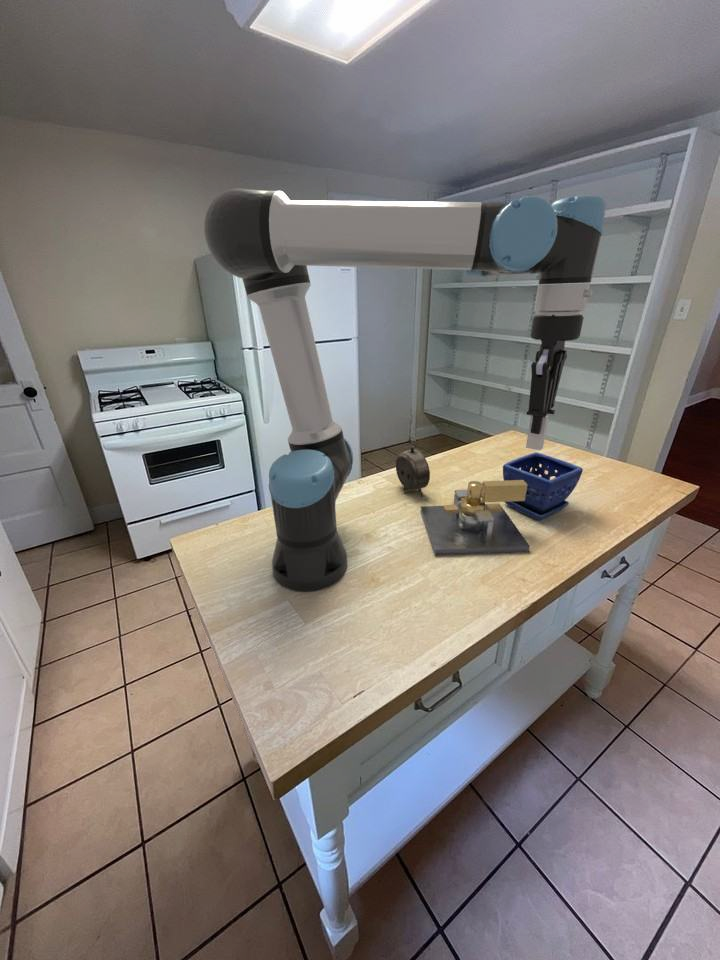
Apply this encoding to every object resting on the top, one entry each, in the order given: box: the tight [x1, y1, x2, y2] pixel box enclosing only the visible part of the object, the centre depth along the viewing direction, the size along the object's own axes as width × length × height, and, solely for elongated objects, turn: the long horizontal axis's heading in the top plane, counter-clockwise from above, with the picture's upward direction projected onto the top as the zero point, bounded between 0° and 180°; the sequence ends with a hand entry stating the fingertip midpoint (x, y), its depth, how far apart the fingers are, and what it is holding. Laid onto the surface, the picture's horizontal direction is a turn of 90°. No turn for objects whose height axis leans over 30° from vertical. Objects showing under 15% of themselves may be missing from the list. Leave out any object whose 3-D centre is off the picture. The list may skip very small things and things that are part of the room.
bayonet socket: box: [420, 489, 531, 556], centre depth 87 cm, size 20×18×7 cm
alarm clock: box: [395, 435, 431, 498], centre depth 103 cm, size 11×5×16 cm, turn 27°
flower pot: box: [502, 451, 584, 521], centre depth 95 cm, size 13×13×12 cm
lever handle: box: [442, 480, 528, 516], centre depth 85 cm, size 17×5×7 cm, turn 91°
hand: (534, 447), depth 73 cm, fingers closed
